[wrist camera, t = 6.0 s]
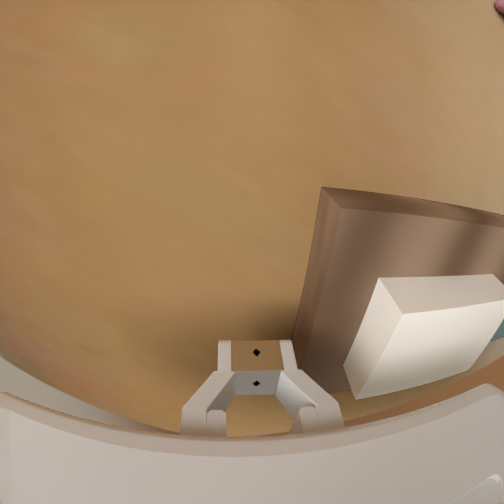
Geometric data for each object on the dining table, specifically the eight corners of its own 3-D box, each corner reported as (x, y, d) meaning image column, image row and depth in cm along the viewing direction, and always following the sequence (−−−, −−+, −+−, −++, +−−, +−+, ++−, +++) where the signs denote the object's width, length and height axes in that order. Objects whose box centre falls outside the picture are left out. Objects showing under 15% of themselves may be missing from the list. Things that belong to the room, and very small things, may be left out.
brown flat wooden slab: (515, 218, 13) (537, 234, 11) (456, 341, 19) (469, 361, 17) (321, 187, 12) (341, 208, 10) (285, 366, 18) (291, 396, 16)
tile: (492, 274, 12) (515, 297, 10) (453, 345, 15) (468, 369, 13) (378, 277, 11) (402, 314, 9) (343, 365, 14) (354, 399, 12)
